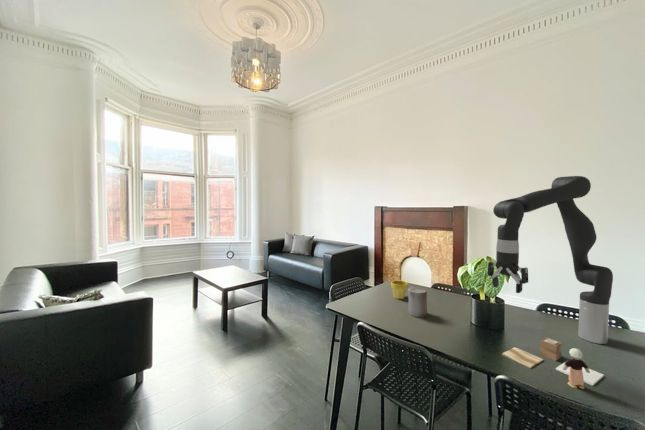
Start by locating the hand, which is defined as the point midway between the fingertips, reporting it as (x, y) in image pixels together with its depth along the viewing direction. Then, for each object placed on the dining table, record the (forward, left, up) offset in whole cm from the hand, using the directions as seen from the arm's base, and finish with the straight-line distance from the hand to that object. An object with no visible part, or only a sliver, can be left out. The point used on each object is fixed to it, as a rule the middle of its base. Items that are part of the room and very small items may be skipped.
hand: (506, 289), depth 110 cm
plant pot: (-8, -68, -26) cm, 73 cm away
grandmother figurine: (+2, +23, -26) cm, 35 cm away
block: (-12, +11, -26) cm, 30 cm away
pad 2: (-8, +21, -26) cm, 34 cm away
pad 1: (-1, +6, -26) cm, 26 cm away
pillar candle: (+2, -44, -26) cm, 51 cm away
